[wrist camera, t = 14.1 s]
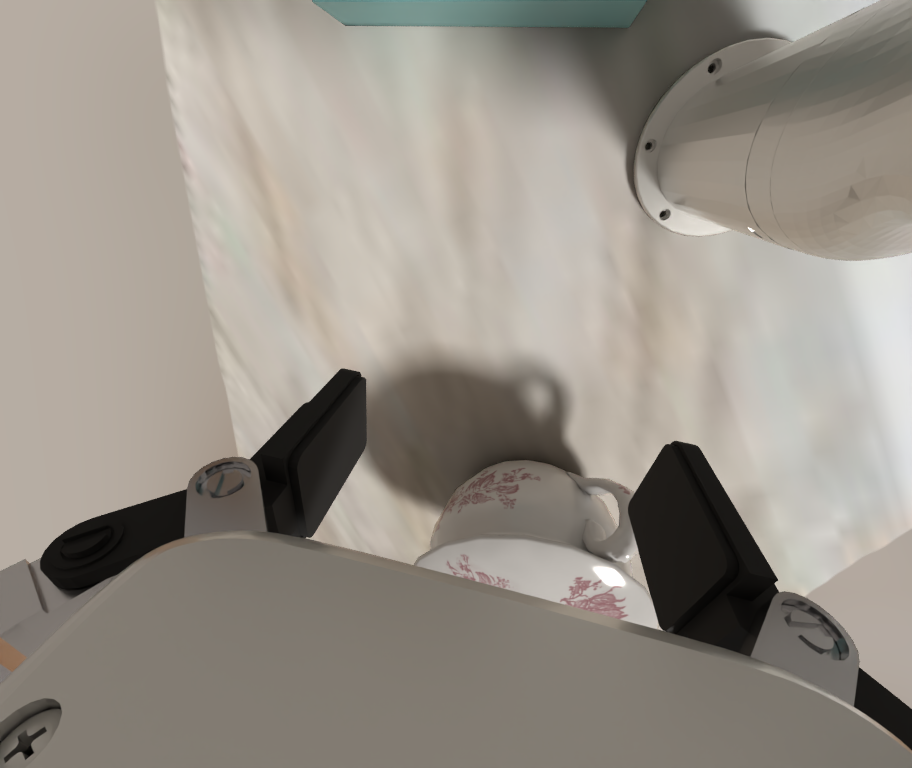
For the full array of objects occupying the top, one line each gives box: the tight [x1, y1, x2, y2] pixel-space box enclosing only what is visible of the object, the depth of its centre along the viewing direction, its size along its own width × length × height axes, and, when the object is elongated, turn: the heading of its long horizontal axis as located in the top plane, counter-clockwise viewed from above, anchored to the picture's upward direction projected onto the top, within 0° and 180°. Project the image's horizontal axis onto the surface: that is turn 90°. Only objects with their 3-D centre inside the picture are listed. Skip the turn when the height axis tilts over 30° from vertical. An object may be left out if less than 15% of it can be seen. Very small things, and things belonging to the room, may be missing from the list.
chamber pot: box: [414, 460, 659, 630], centre depth 44 cm, size 28×28×21 cm
